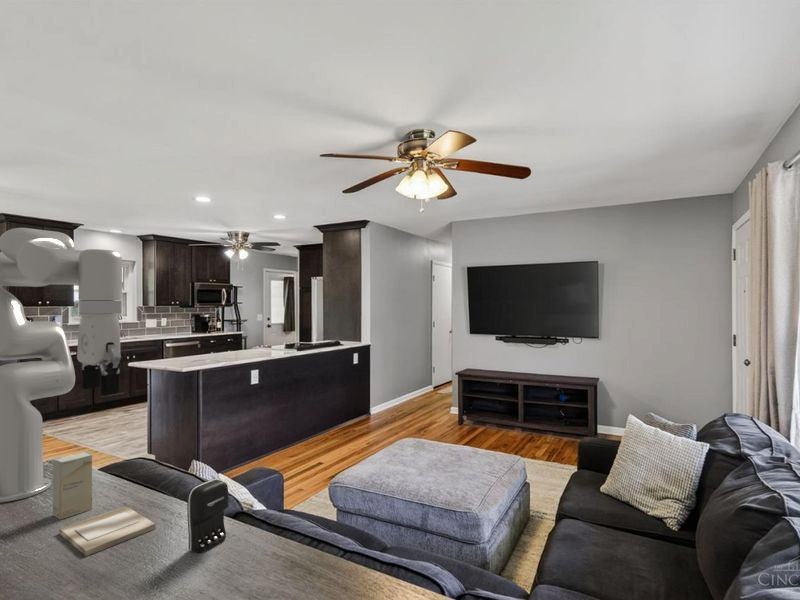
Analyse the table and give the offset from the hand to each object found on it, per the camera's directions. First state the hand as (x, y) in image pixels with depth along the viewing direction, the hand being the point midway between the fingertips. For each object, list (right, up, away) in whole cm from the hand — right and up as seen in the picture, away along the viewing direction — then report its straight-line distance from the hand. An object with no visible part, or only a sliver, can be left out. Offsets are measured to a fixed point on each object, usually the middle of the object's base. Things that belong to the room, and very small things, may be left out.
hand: (99, 390), depth 93 cm
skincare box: (-9, -28, +5) cm, 30 cm away
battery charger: (+27, -27, -10) cm, 40 cm away
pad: (+4, -27, -4) cm, 28 cm away
